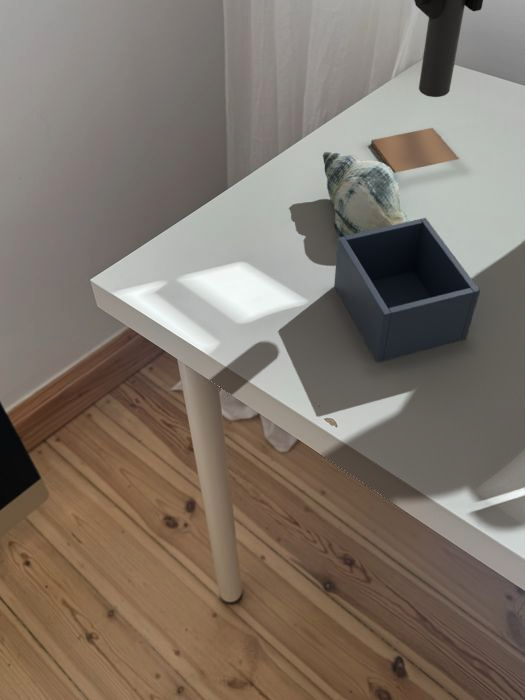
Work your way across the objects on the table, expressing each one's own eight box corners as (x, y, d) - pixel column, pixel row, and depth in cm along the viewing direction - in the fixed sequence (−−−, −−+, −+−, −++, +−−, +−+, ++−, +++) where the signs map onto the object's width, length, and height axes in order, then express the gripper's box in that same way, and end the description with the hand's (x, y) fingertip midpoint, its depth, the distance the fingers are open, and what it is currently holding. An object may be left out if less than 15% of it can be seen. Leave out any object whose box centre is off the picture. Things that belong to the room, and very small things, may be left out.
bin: (415, 270, 72) (425, 217, 67) (465, 343, 66) (480, 290, 61) (333, 290, 71) (337, 237, 66) (376, 367, 64) (384, 314, 59)
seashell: (348, 269, 75) (333, 196, 82) (418, 242, 73) (396, 169, 80) (325, 227, 70) (311, 153, 78) (399, 196, 68) (377, 124, 76)
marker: (441, 78, 64) (467, -79, 54) (456, 94, 62) (486, -66, 53) (411, 84, 63) (433, -73, 54) (426, 100, 61) (451, -60, 52)
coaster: (431, 131, 88) (432, 127, 88) (463, 167, 83) (464, 164, 83) (370, 143, 87) (371, 139, 86) (399, 181, 82) (399, 177, 81)
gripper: (400, -280, 40) (372, 48, 53) (654, -307, 43) (564, 10, 57) (346, -301, 44) (332, 6, 58) (577, -324, 47) (512, -28, 61)
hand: (447, 5), depth 57 cm, fingers closed on marker, 2 cm apart
